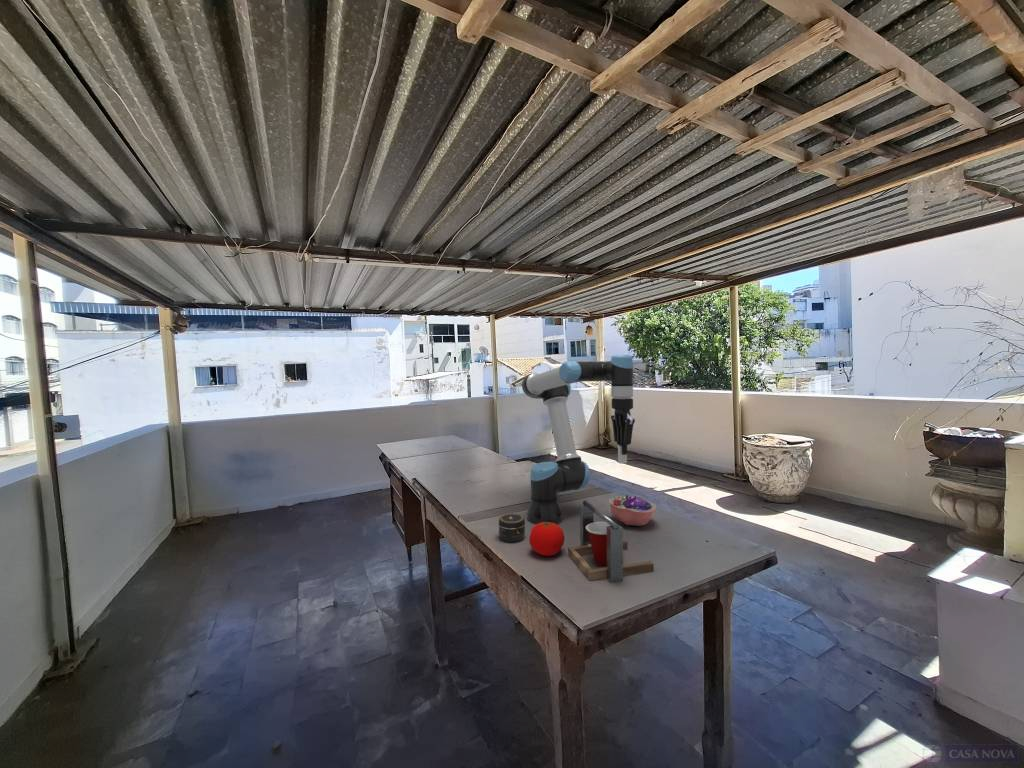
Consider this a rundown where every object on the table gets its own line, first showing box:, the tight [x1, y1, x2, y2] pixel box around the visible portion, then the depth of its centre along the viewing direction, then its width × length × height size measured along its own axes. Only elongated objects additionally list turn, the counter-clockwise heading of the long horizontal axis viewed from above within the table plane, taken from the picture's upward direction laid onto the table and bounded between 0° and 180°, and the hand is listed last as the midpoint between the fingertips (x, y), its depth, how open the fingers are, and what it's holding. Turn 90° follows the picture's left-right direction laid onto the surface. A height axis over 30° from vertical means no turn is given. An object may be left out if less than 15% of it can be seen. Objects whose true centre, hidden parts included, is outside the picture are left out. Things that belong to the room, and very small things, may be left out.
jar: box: [498, 513, 526, 544], centre depth 147 cm, size 10×10×8 cm
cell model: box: [608, 494, 657, 527], centre depth 160 cm, size 17×20×11 cm
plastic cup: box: [586, 521, 610, 567], centre depth 127 cm, size 11×11×12 cm
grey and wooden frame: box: [567, 500, 655, 584], centre depth 127 cm, size 22×22×17 cm
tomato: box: [528, 522, 566, 557], centre depth 134 cm, size 11×12×10 cm
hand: (622, 462), depth 140 cm, fingers closed
